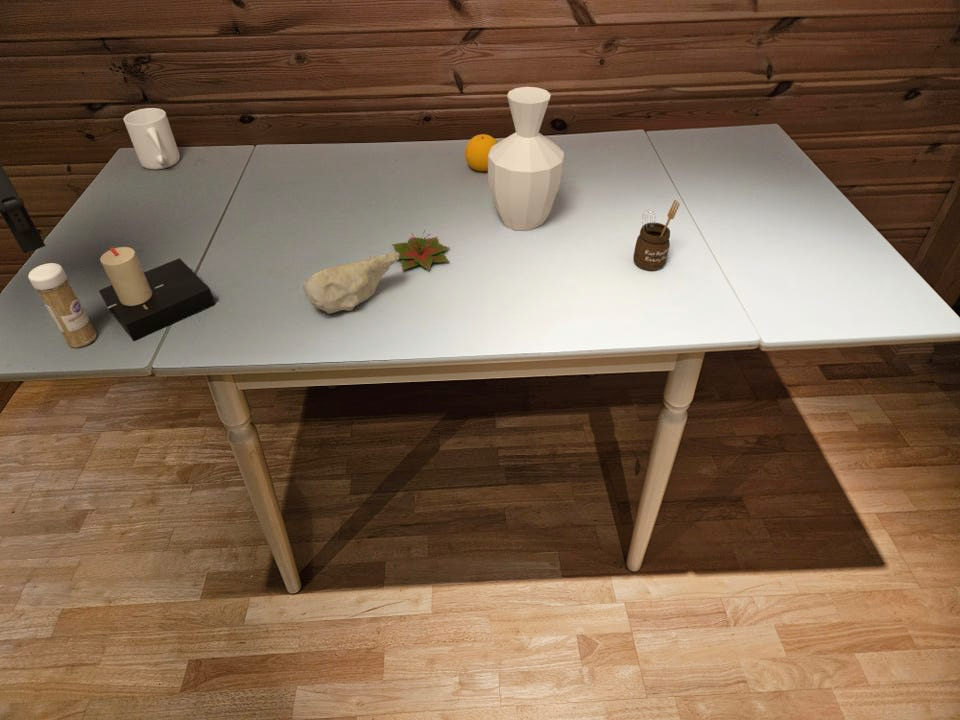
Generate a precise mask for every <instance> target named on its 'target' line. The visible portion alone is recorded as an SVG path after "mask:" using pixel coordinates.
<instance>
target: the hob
mask: <svg viewBox="0 0 960 720" xmlns="http://www.w3.org/2000/svg"><path fill="white" fill-rule="evenodd" d="M143 272H144V274H145V277H146V279H147V281H148V284H149V286H150V288H151V290H152V296H151V297H150V299H149V300H147V301H146V302H144V303H142V304H139V305H135V306H126V305H123V304H122V303H121V302H120V300H119V298H118V296H117V294H116V292H115V290H114V288H113V286H112V284H111V285H109V286H106V287H104V288H101V289H99V290H98V292H99V294H100V296H101V298H102V300H103V302H104V304H105V306H106V308H107V309H108V310H109V312H111V314H112V315H113V316H114V318H115V320H117V322H118V323H119V324H120V326H121V327H122V328H123V329H124V331H125V332H126V333H127V335H128V336H129V337H130V339H131V340H132V341H133V342H135V341H137V340H140V339H142V338H145V337H147V336H149V335H152V334H153V333H156V332H158V331H160V330H162V329H165V328H166V327H169V326H172V325H173V324H176V323H178V322H180V321H183V320H184V319H187V318H189V317H191V316H193V315H196V314H198V313H200V312H202V311H205V310H207V309H209V308H212V307H214V306H216V302H215V299H214V297H213V294H212V291H211V288H210V287H209V286H208V285H207V284H206V283H205V282H204V281H203V280H202V279H201V278H200V277H199V276H198V275H197V274H196V273H195V272H194V271H193V270H192V268H190V266H188V265H187V264H186V263H185V261H183V260H182V259H181V258H180V257H179V258H176V259H174V260H171V261H169V262H166V263H164V264H161V265H158V266H157V267H154V268H151V269H149V270H146V271H143Z"/></svg>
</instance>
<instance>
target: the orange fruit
mask: <svg viewBox="0 0 960 720" xmlns="http://www.w3.org/2000/svg"><path fill="white" fill-rule="evenodd" d="M497 143H499V142H498V141H497V139H495V137H493V136H491V135H489V134H486V133H482V134H476V135H475V136H473V137H471V138H470V139H469V140H468V142H467V144H466V146H465V149H464V157H465V161H466V163H467V166H469V167H470V168H471V169H473V170H474V171H476V172H488V155H489V152H490V150H491V147H492V146H494V145H495V144H497Z"/></svg>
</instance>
